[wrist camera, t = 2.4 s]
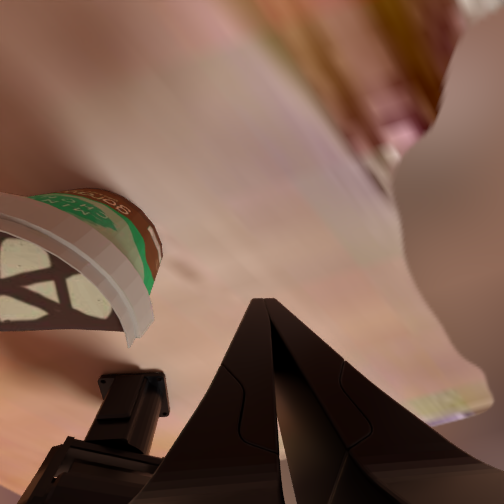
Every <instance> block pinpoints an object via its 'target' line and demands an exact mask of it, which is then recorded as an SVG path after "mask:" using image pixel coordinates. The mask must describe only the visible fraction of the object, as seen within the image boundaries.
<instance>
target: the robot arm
mask: <svg viewBox="0 0 504 504" xmlns="http://www.w3.org/2000/svg"><path fill="white" fill-rule="evenodd" d="M98 384H99V387H100V390H101V394H102V397H103V400H104V401H103V403H102V405H101V407H100V409H99V411H98V413H97V415H96V417H95V419H94V421H93V423H92V425H91V427H90V429H89V431H88V433H87V435H86V437H85V440H84V441H82V440H77V439H74V438H75V437H71V436H68V437H67V438H66V440H65V442H64V444H61V445H58V446H54V447H52V448H51V450H50V451H49V453H48V455H47V456H46V458H45V460H44V462H43V463H42V465H41V467H40V468H39V470H38V472H37V473H36V475H35V476H34V478H33V479H32V481H31V483H30V484H29V486H28V487H27V489H26V490H25V492H24V493H23V495H22V497H21V498H20V500H19V501H18V503H17V504H285V501H284V496H283V490H282V481H281V471H280V459H279V441H278V425H277V418H278V422H279V427H280V431H281V436H282V440H283V444H284V449H285V453H286V458H287V462H288V466H289V471H290V475H291V480H292V484H293V488H294V493H295V497H296V502H297V504H504V471H503V470H500V469H497V468H495V467H493V466H491V465H488V464H486V463H484V462H482V461H480V460H478V459H476V458H475V457H473V456H471V455H469V454H468V453H466V452H464V451H463V450H461V449H460V448H458V447H457V446H456V445H454V444H453V443H451V442H450V441H448V440H447V439H446V438H444V437H443V436H442V435H440V434H439V433H438V432H436V431H435V430H434V429H432V428H431V427H430V426H428V425H427V424H426V423H424V422H423V421H422V420H420V419H419V418H418V417H416V416H415V415H414V414H412V413H411V412H410V411H408V410H407V409H406V408H404V407H403V406H402V405H400V404H399V403H398V402H396V401H395V400H394V399H392V398H391V397H390V396H388V395H387V394H386V393H385V392H383V391H382V390H381V389H379V388H378V387H377V386H376V385H374V384H373V383H372V382H371V381H369V380H368V379H367V378H366V377H365V376H363V375H362V374H361V373H360V372H359V371H357V370H356V369H355V368H354V367H353V366H352V365H351V364H349V363H348V362H347V361H344V358H342V357H341V356H340V355H339V354H338V353H337V352H336V351H334V350H333V349H332V348H331V347H330V346H329V345H328V344H327V343H325V342H324V341H323V340H322V339H321V338H320V337H319V336H317V335H316V334H315V333H314V332H313V331H312V330H311V329H309V328H308V327H307V326H306V325H305V324H304V323H303V322H301V321H300V320H299V319H298V318H297V317H296V316H295V315H293V314H292V313H291V312H290V311H289V310H288V309H287V308H285V307H284V306H283V305H282V304H281V303H280V302H279V301H277V300H276V299H275V298H264V299H263V298H253V299H252V300H251V302H250V304H249V306H248V308H247V310H246V312H245V314H244V316H243V318H242V321H241V323H240V325H239V327H238V329H237V331H236V333H235V335H234V337H233V340H232V342H231V344H230V346H229V348H228V350H227V352H226V354H225V356H224V358H223V361H222V363H221V366H220V367H219V369H218V371H217V373H216V375H215V377H214V379H213V381H212V383H211V385H210V386H209V388H208V390H207V392H206V394H205V396H204V397H203V399H202V400H201V402H200V404H199V405H198V407H197V409H196V410H195V412H194V413H193V415H192V416H191V418H190V419H189V421H188V423H187V424H186V426H185V427H184V429H183V430H182V432H181V433H180V435H179V436H178V438H177V439H176V441H175V442H174V444H173V445H172V447H171V449H170V450H169V452H168V453H167V455H166V456H165V457H162V458H159V457H154V456H150V455H149V452H150V449H151V445H152V441H153V437H154V433H155V429H156V426H157V422H158V418H159V417H166V416H168V415H169V413H170V406H169V399H168V392H167V385H166V378H165V374H163V373H137V374H112V375H102V376H100V378H99V380H98ZM54 477H57V478H54Z"/></svg>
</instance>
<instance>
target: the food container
mask: <svg viewBox="0 0 504 504" xmlns="http://www.w3.org/2000/svg"><path fill="white" fill-rule="evenodd" d="M162 257H163V253H162V243H161V241H160V238H159V236H158V234H157V231H156V229H155V226H154V225H153V224H152V222H151V221H150V220H149V219H148V217H147V216H146V215H145V214H144V213H143V211H142V210H141V209H139V208H138V207H137V206H135V205H134V204H132V203H131V202H130V201H128V200H127V199H125V198H124V197H122V196H119V195H117V194H114V193H112V192H109V191H106V190H101V189H93V188H83V189H75V190H68V191H62V192H55V193H49V194H42V195H35V196H29V197H24V196H20V195H15V194H9V193H4V192H0V331H33V330H52V329H84V330H105V331H120V332H125V335H126V340H127V345H128V348H130V347H131V345H132V343H133V342H134V340H135V338H141V337H142V335H143V334H144V333H145V332H146V330H147V329H148V328H149V326H150V325H151V324H152V322H153V321H154V314H153V306H152V303H151V300H150V297H149V295H150V293H151V290H152V287H153V284H154V281H155V278H156V275H157V272H158V269H159V266H160V263H161V260H162Z"/></svg>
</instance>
